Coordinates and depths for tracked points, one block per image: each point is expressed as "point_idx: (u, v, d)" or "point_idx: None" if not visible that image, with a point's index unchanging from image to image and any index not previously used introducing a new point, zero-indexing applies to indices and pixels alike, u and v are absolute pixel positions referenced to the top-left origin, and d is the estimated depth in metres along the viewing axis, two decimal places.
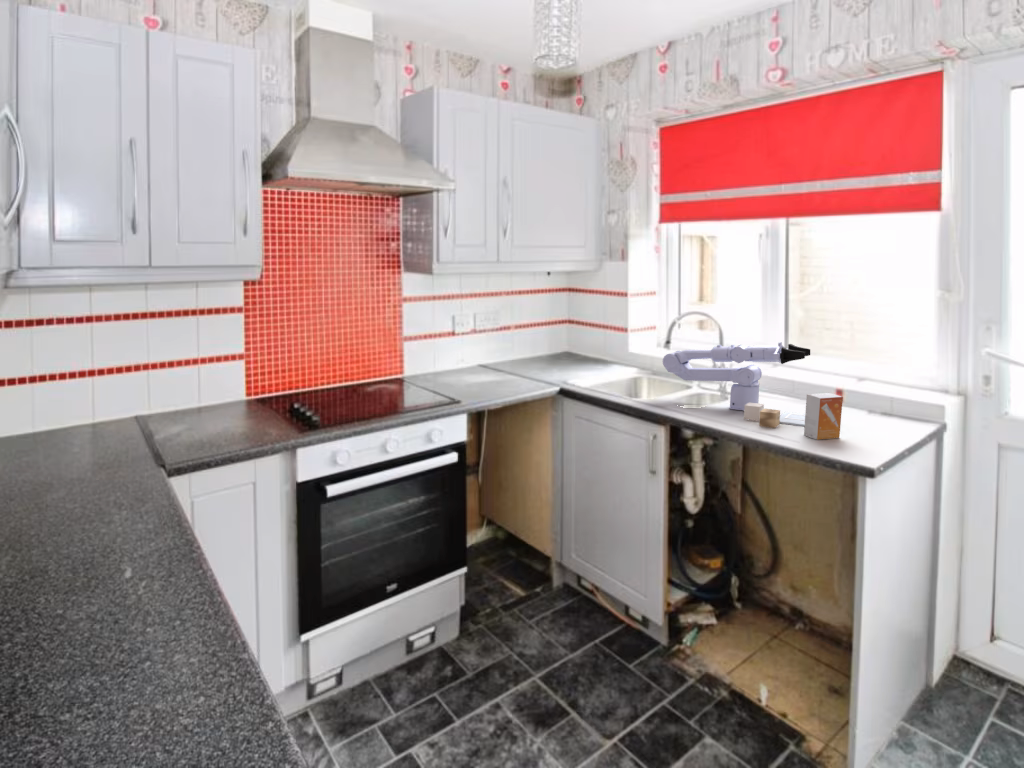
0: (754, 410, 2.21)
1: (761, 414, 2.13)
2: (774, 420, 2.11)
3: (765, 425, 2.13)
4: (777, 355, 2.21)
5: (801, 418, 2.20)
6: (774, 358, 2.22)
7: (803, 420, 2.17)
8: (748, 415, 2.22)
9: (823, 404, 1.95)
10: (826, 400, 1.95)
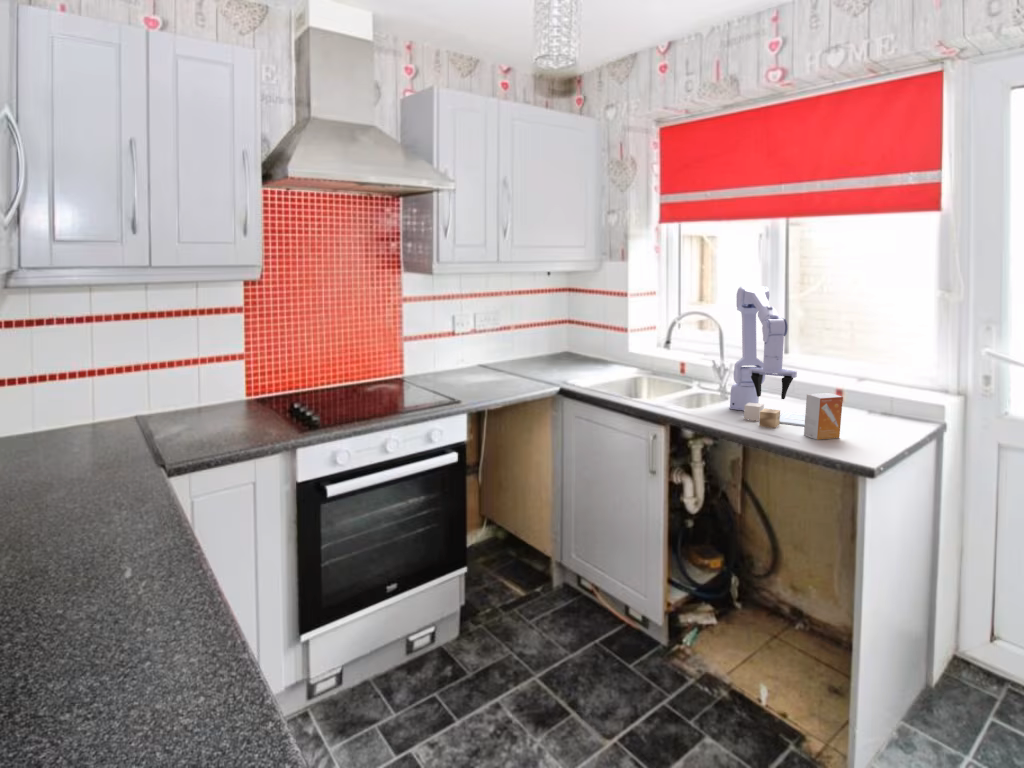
0: (754, 410, 2.21)
1: (761, 414, 2.13)
2: (774, 420, 2.11)
3: (765, 425, 2.13)
4: None
5: (801, 418, 2.20)
6: None
7: (803, 420, 2.17)
8: (748, 415, 2.22)
9: (823, 404, 1.95)
10: (826, 400, 1.95)
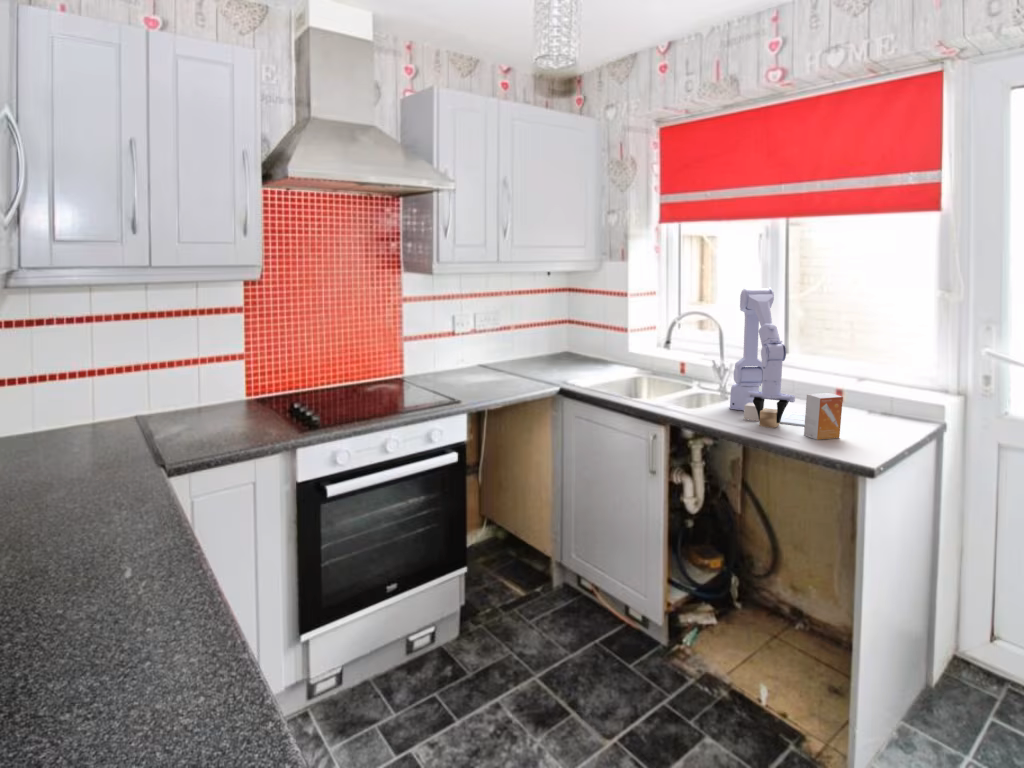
0: (754, 410, 2.21)
1: (761, 414, 2.13)
2: (774, 420, 2.11)
3: (765, 425, 2.13)
4: None
5: (801, 418, 2.20)
6: None
7: (803, 420, 2.17)
8: (748, 415, 2.22)
9: (823, 404, 1.95)
10: (826, 400, 1.95)
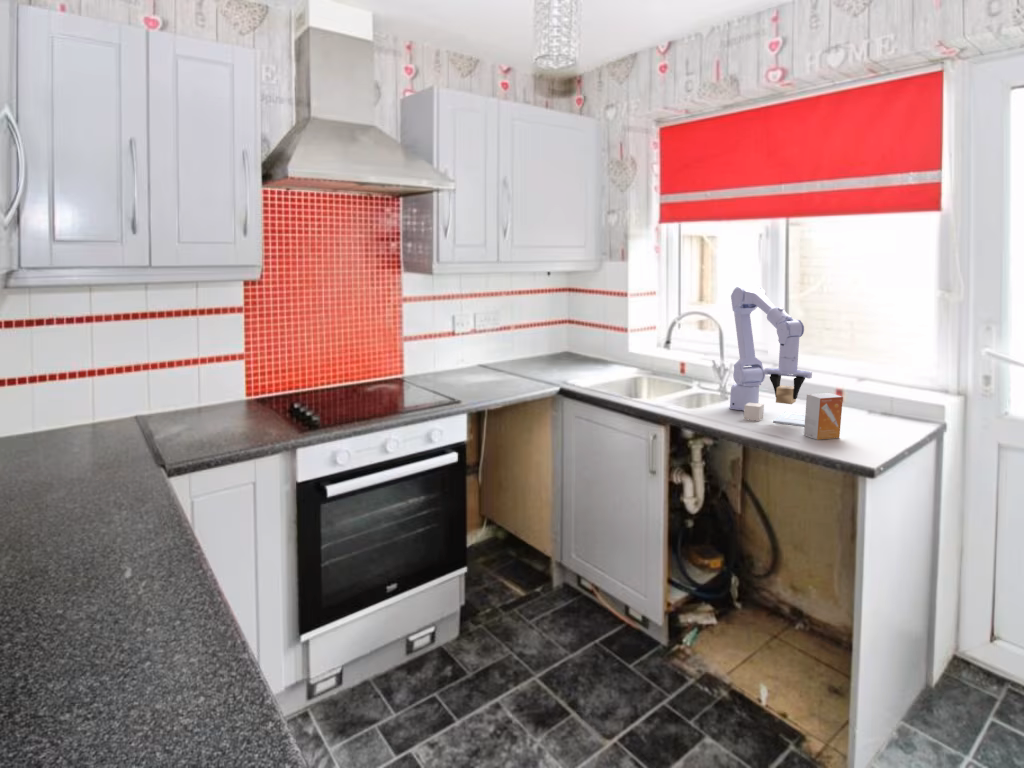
0: (754, 410, 2.21)
1: (778, 390, 2.16)
2: (791, 396, 2.13)
3: (781, 401, 2.15)
4: None
5: (801, 418, 2.20)
6: None
7: (803, 420, 2.17)
8: (748, 415, 2.22)
9: (823, 404, 1.95)
10: (826, 400, 1.95)
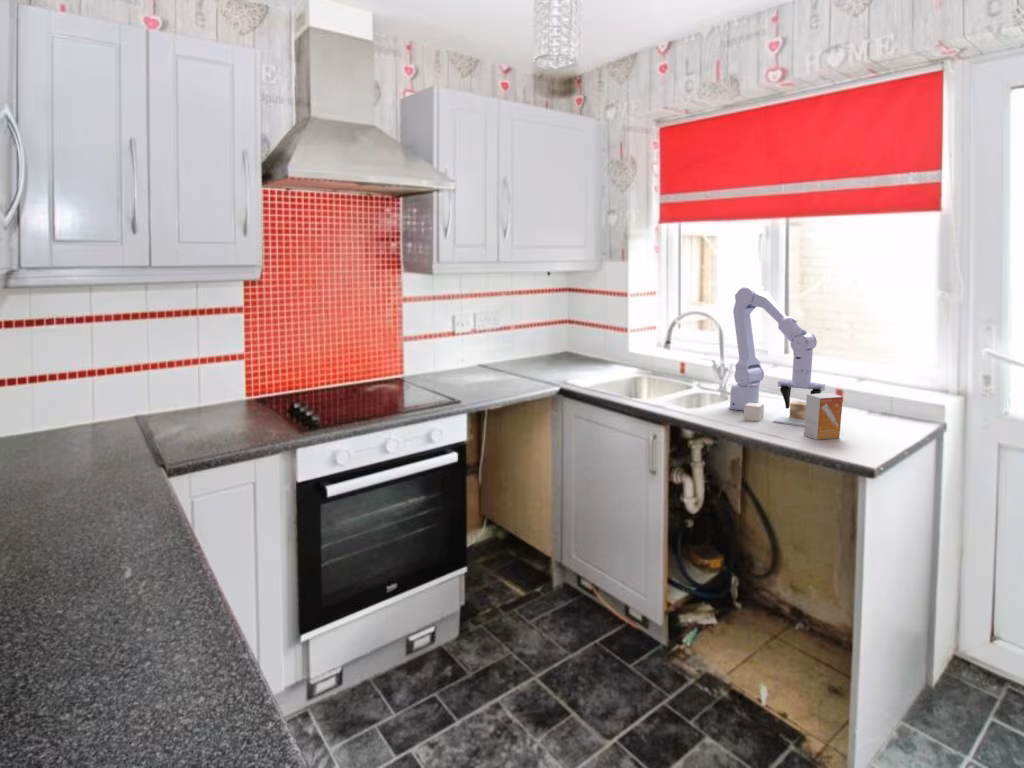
0: (754, 410, 2.21)
1: (791, 406, 2.20)
2: (804, 412, 2.18)
3: (795, 417, 2.20)
4: None
5: None
6: None
7: (803, 420, 2.17)
8: (748, 415, 2.22)
9: (823, 404, 1.95)
10: (826, 400, 1.95)
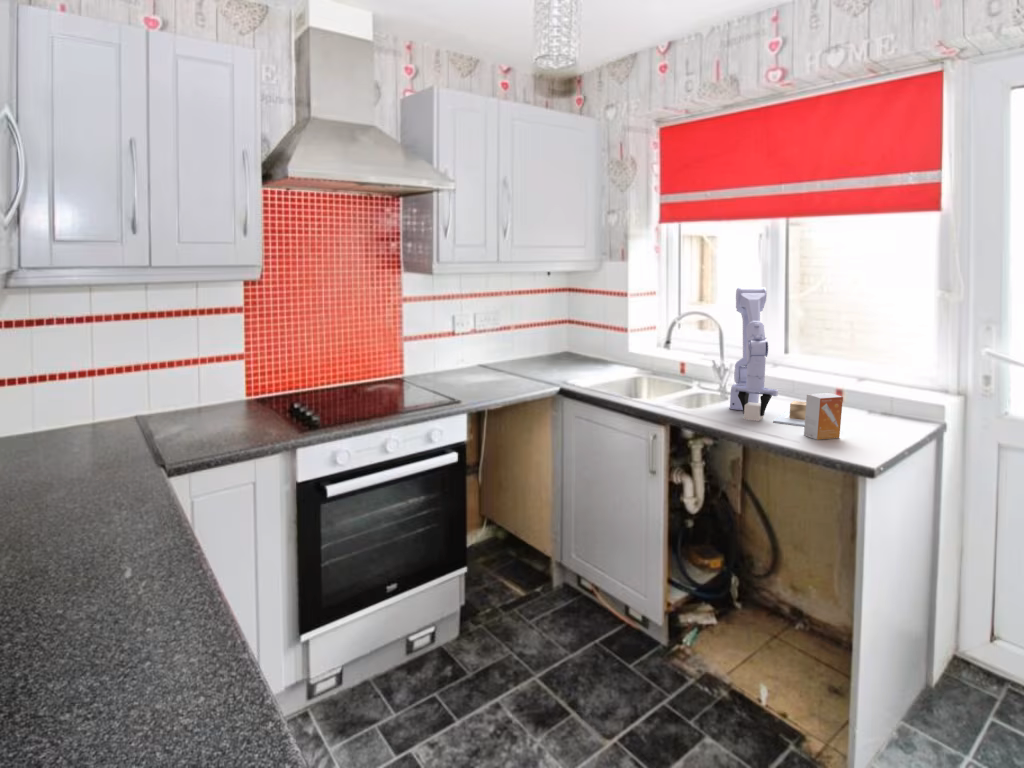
0: (754, 410, 2.21)
1: (791, 406, 2.20)
2: (804, 412, 2.18)
3: (795, 417, 2.20)
4: None
5: None
6: None
7: (803, 420, 2.17)
8: (748, 414, 2.22)
9: (823, 404, 1.95)
10: (826, 400, 1.95)
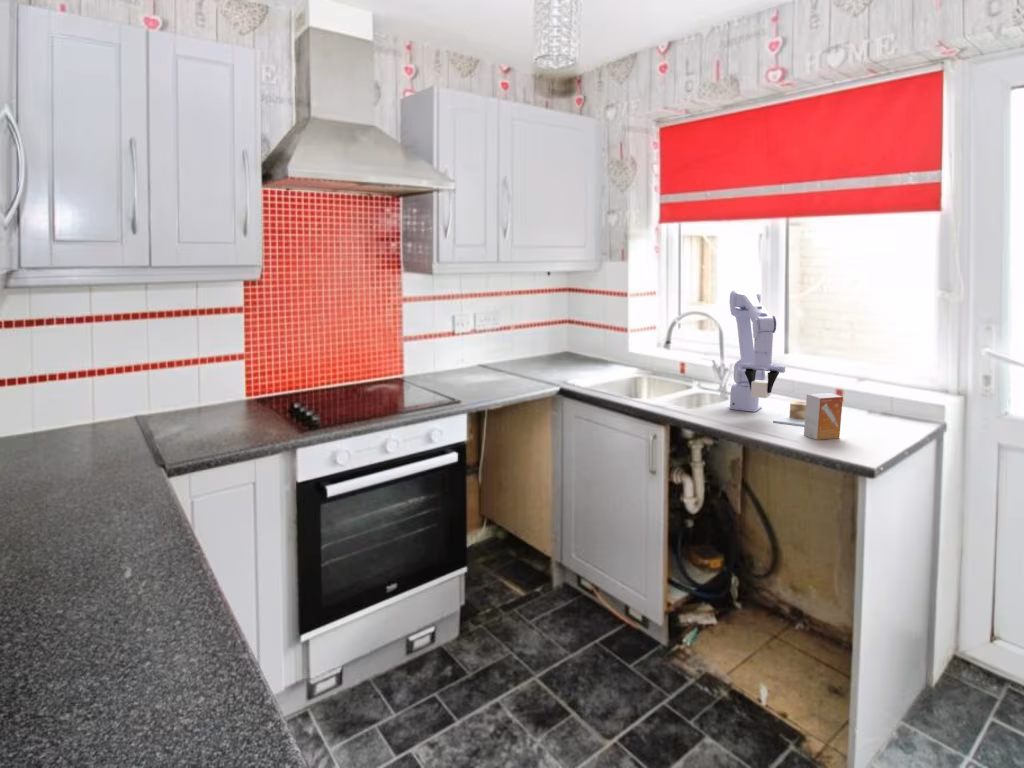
0: (761, 387, 2.19)
1: (791, 406, 2.20)
2: (804, 412, 2.18)
3: (795, 417, 2.20)
4: None
5: None
6: None
7: (803, 420, 2.17)
8: (755, 391, 2.20)
9: (823, 404, 1.95)
10: (826, 400, 1.95)
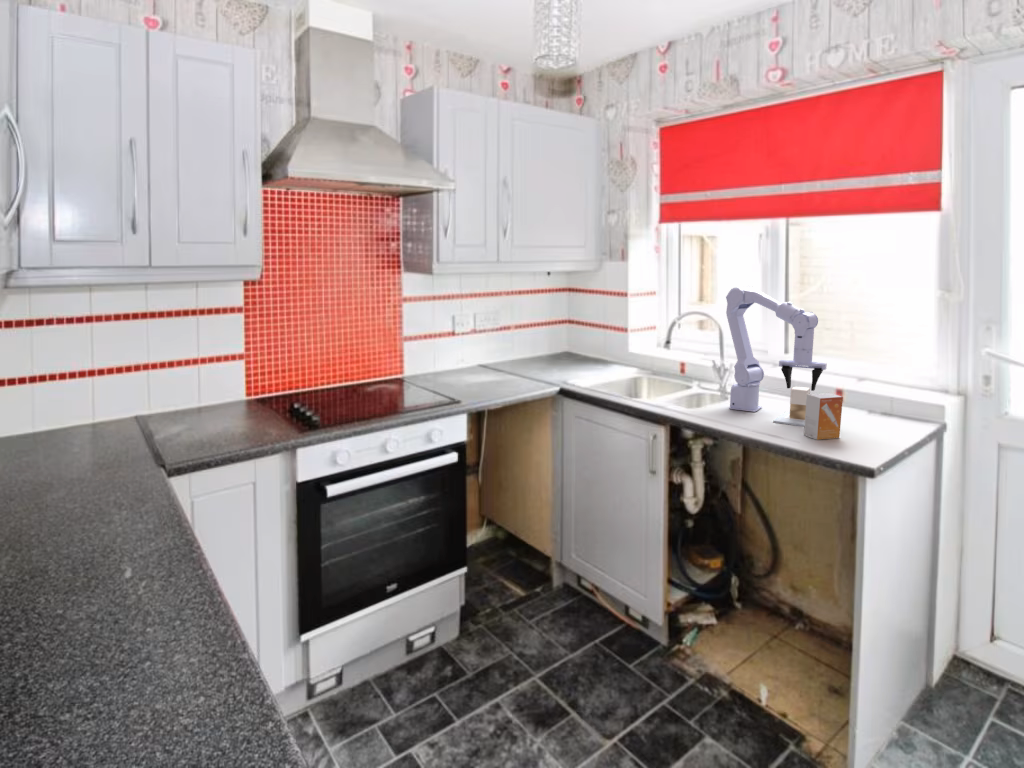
0: (801, 394, 2.18)
1: (791, 406, 2.20)
2: (804, 412, 2.18)
3: (795, 417, 2.20)
4: None
5: None
6: None
7: (803, 420, 2.17)
8: (794, 399, 2.19)
9: (823, 404, 1.95)
10: (826, 400, 1.95)
